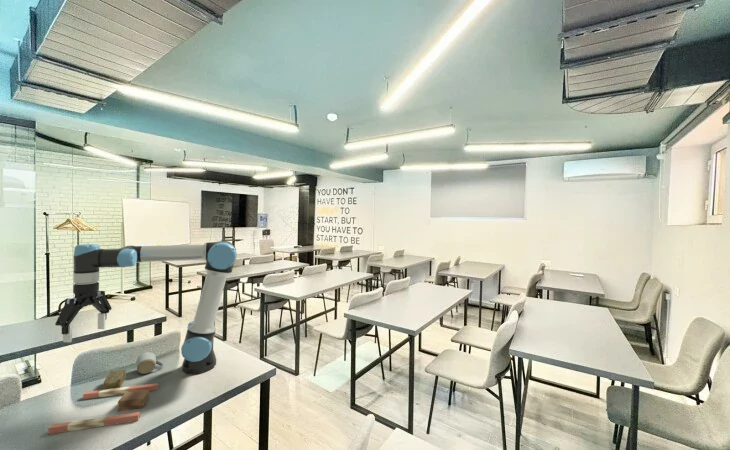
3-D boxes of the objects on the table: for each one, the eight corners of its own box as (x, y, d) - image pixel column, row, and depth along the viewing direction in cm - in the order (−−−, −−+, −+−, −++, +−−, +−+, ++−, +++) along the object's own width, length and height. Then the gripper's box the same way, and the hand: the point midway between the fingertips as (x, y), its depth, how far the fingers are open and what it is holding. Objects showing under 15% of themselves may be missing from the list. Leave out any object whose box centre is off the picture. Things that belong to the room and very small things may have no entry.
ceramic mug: (136, 377, 134) (137, 360, 134) (135, 369, 140) (136, 353, 140) (164, 370, 141) (165, 355, 141) (162, 364, 147) (163, 348, 147)
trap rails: (158, 387, 126) (158, 383, 126) (137, 420, 106) (138, 415, 106) (85, 396, 118) (86, 391, 118) (48, 434, 97) (48, 428, 97)
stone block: (101, 395, 120) (102, 383, 120) (109, 381, 130) (109, 370, 130) (119, 391, 123) (120, 379, 123) (125, 378, 132) (126, 367, 132)
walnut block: (148, 399, 118) (149, 389, 118) (142, 408, 113) (143, 398, 113) (125, 402, 116) (125, 392, 116) (117, 411, 110) (118, 401, 110)
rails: (130, 391, 123) (130, 386, 123) (103, 425, 102) (103, 420, 102) (101, 394, 120) (101, 389, 120) (67, 431, 99) (67, 425, 99)
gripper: (106, 276, 130) (105, 323, 130) (41, 289, 105) (40, 347, 105) (122, 277, 129) (121, 324, 129) (61, 290, 104) (60, 348, 104)
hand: (85, 335), depth 117 cm, fingers open, 13 cm apart
